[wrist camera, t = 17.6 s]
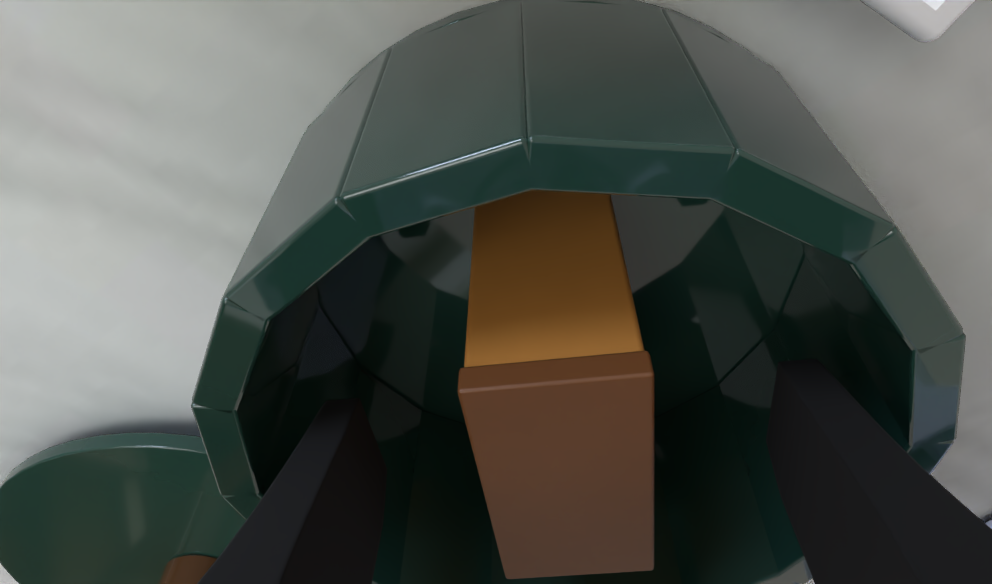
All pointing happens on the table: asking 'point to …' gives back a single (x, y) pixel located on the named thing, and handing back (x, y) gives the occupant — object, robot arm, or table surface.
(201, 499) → the lid
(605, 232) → the brown block
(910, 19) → the mooring cleat
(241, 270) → the pot
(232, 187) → the table surface
